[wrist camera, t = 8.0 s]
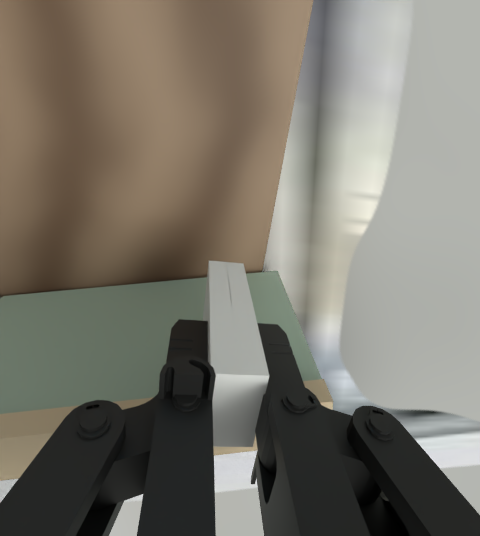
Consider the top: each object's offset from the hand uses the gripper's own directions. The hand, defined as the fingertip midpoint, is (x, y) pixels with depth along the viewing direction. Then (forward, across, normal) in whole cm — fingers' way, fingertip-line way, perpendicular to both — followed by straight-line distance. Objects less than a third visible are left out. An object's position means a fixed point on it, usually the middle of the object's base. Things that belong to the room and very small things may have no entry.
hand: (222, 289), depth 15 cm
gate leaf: (+5, -5, -4) cm, 8 cm away
